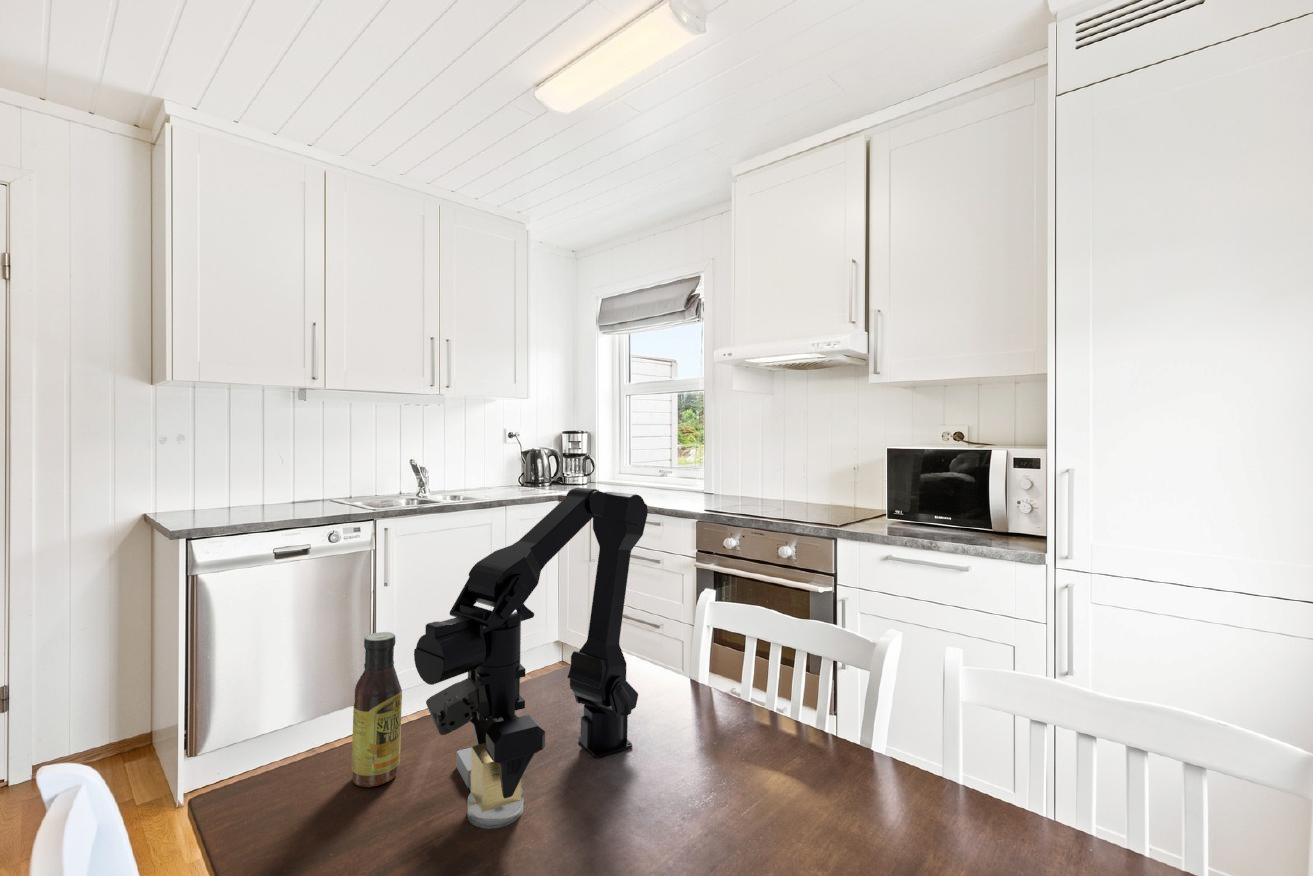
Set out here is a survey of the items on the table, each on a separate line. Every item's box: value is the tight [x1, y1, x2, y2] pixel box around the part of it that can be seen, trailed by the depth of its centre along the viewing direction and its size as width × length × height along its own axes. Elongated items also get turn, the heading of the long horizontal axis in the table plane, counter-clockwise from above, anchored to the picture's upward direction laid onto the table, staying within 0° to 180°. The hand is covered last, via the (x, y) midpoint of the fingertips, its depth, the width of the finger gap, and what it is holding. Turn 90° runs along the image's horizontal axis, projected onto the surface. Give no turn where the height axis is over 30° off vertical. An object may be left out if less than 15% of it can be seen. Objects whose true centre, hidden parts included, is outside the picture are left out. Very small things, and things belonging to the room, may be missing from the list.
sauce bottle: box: [350, 631, 403, 788], centre depth 88 cm, size 7×6×20 cm
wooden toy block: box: [470, 743, 522, 812], centre depth 81 cm, size 5×5×6 cm
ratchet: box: [455, 747, 525, 830], centre depth 85 cm, size 16×7×6 cm, turn 32°
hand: (496, 778), depth 81 cm, fingers open, 9 cm apart
